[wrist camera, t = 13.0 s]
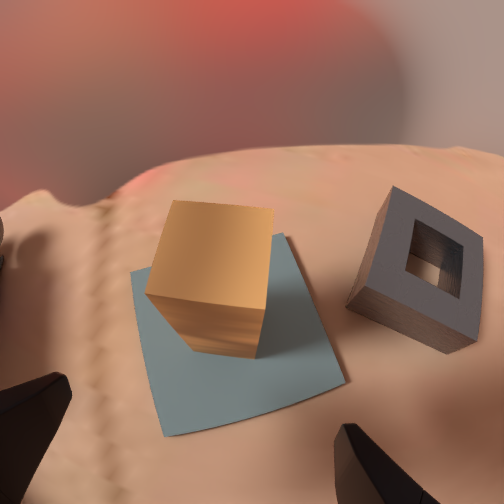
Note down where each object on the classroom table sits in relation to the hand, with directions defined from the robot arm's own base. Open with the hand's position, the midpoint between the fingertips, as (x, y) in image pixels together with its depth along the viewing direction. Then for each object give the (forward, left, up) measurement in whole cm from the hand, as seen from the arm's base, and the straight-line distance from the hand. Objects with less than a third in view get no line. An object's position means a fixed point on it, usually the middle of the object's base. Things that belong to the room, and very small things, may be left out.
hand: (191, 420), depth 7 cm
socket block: (+4, -16, -8) cm, 19 cm away
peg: (+5, -2, -8) cm, 9 cm away
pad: (+5, -2, -8) cm, 10 cm away
